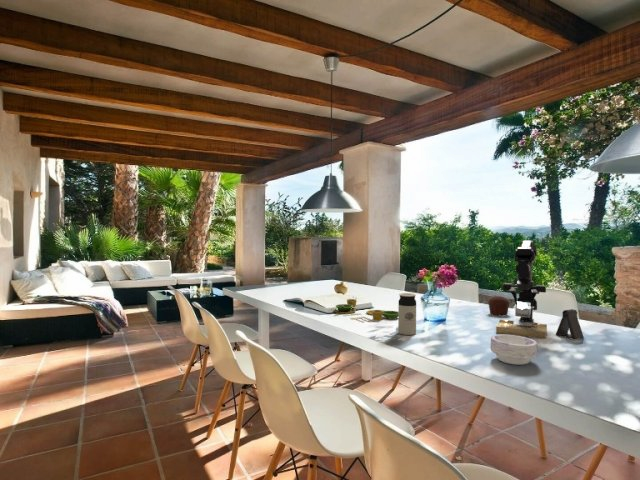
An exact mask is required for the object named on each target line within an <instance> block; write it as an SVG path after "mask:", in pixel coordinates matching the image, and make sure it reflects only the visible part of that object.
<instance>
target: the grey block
mask: <svg viewBox="0 0 640 480" xmlns="http://www.w3.org/2000/svg"><path fill="white" fill-rule="evenodd" d="M530 312H531V303H527V302H517V305H516V307H515V317H520V318H521V317H528V318H530Z"/></svg>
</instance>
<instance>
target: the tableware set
mask: <svg viewBox="0 0 640 480" xmlns="http://www.w3.org/2000/svg"><path fill="white" fill-rule="evenodd" d="M357 301H358V300H357V299H356V298H355V299H354V298H353V299H351V298H348V299H346V303H347V304H345V303H342V304H336V305H335V307H336V308H338V310H336V309H335V308H334V309H335V310H333V312H334V313H336V314H342V316H343V317H348V316H349V317H350V316H358V315H361V313H355V312H356V311H357V310H356V308H355V309H351V308H352V307H355V306H356V307H357ZM366 313H367V314H368V315H369V316H372V319H371V318H368V317H366V316H359V317H350V318H349V319H350V320H352V321H353V320H355V321H358V322H359V323H360V322H361V323H365V322H367V323H370V322H375V321H382V320H383V317H384V319H388V320H396V319H398V311H396V310H385V309H384V310H383V309H370V310H367V311H366Z"/></svg>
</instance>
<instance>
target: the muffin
mask: <svg viewBox="0 0 640 480" xmlns="http://www.w3.org/2000/svg"><path fill="white" fill-rule="evenodd" d="M487 304H488V308H489V314H490V313H491V315H492V314H493V315H494V316H499V315H501V316H502V315H506V316H507V315H508V313H509V308H510V307H509V306H510V304H511V303H510V301H509V300H508V298H506V297H504V296H501V295H494V296H492V297H490V298H489V299H488V301H487ZM493 315H492V316H493ZM502 317H503V316H502Z"/></svg>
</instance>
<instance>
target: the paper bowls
mask: <svg viewBox="0 0 640 480" xmlns="http://www.w3.org/2000/svg"><path fill="white" fill-rule="evenodd" d="M490 350H491V352H492V353H494V354H495V355H496V357H497V359H498V360H499V361H500V362H503V363H505V364H509V365H518V366H519V365H520V366H523V365H527V364H529V363H530V362H531V359H535V358H537V356H538V342H537V341H536V340H534V339H532V338H530V337H526V336H518V335H509V334H494V335H492V336H491V337H490Z"/></svg>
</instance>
